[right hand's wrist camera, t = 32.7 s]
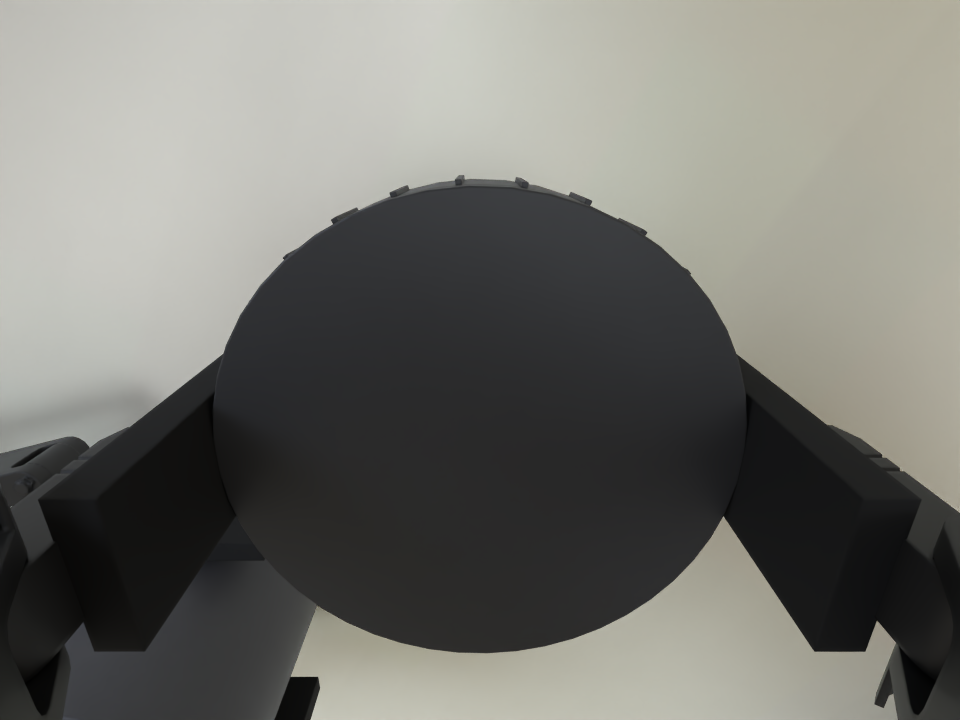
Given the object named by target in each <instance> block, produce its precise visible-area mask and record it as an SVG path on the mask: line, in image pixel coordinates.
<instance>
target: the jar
mask: <svg viewBox="0 0 960 720" xmlns="http://www.w3.org/2000/svg"><path fill="white" fill-rule="evenodd" d="M316 606H317V604H315V603H314V602H312V601H311V600H310V599H308V598H307V597H306V596H304V595H303V594H301V593H300V592H299V591H297V590H296V589H295V588H294V587H293V586H292V585H291V584H290V583H289V582H287V581H286V580H285V579H284V578H283V577H282V576H281V575H280V574H279V573H278V572H276V570H275V569H274V568H273V567H272V566H271V565H270V563H269V562H268V561H267V560H266V559H265V560H264V561H206V562H205V563H204V565H203V566H202V568H201V569H200V571H199V572H198V574H197V575H196V577H195V578H194V580H193V581H192V582H191V584H190V585H189V587H188V588H187V590H186V591H185V593H184V594H183V596H182V597H181V599H180V600H179V602H178V603H177V605H176V606H175V608H174V609H173V611H172V612H171V614H170V615H169V617H168V618H167V620H166V621H165V623H164V624H163V626H162V627H161V629H160V630H159V632H158V633H157V635H156V636H155V638H154V639H153V641H152V642H151V644H150V645H149V647H148V648H147V650H146V651H145V652H94V649H93V647H92V644H91V641H90V639H89V636H88V633H87V631H86V628H85V625H84V623H82V624H81V626H80V627H79V628H78V629H77V630H76V632H75V633H74V634H73V635H72V636H71V637H70V639H69V640H68V641H67V642H66V643H65V647H66V650H67V652H68V655H69V658H70V665H71V671H70V677H69V683H68V689H67V695H66V701H65V707H64V713H63V719H62V720H275V717H276V714H277V711H278V709H279V706H280V703H281V701H282V698H283V695H284V693H285V690H286V687H287V684H288V682H289V679H290V676H291V674H292V671H293V668H294V666H295V663H296V660H297V658H298V655H299V652H300V649H301V647H302V644H303V641H304V639H305V636H306V633H307V631H308V628H309V625H310V622H311V620H312V617H313V614H314V612H315V609H316Z"/></svg>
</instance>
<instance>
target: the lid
mask: <svg viewBox="0 0 960 720" xmlns="http://www.w3.org/2000/svg"><path fill="white" fill-rule="evenodd" d="M390 196H391V197H388V198H386V199H383V200H381V201H378V202H376V203H373V204H371V205H369V206H367V207H365V208H363V209H361V210H358V209H357V208H355V209H352V210H350V211H348V212H346V213H343V214H341V215H339V216H337V217H335V218H333V219H331V221H332V223H333V225H331V226H330V227H328V228H326V229H324V230H323V231H321V232H319V233H318V234H316V235H314V236H313V237H312V238H311V239H309V240H308V241H307V242H306V243H304V244H303V245H302V246H301V247H299V248H298V249H296V250H294V251H292V252H290V253H288V254H286V255H285V256H284V257H283V259H284V261H283V262H282V263H281V264H280V265H279V266H278V267H277V268H276V269H275V270H274V271H273V272H272V274H271V275H270V276H269V277H268V278H267V279H266V280H265V281H264V282H263V283H262V284H261V285H260V287H259V288H258V290H257V291H256V293H255V294H254V296H253V297H252V299H251V300H250V301H249V303H248V304H247V306H246V307H245V309H244V310H243V312H242V313H241V315H240V317H239V319H238V321H237V323H236V325H235V327H234V330H233V332H232V334H231V336H230V338H229V340H228V342H227V344H226V347H225V351H224V354H223V357H222V361H221V364H220V368H219V371H218V375H217V379H216V387H215V395H214V402H213V441H214V447H215V452H216V457H217V462H218V466H219V471H220V475H221V479H222V482H223V485H224V488H225V491H226V494H227V497H228V500H229V502H230V504H231V506H232V508H233V510H234V512H235V514H236V516H237V518H238V520H239V522H240V524H241V526H242V527H243V529H244V530H245V532H246V533H247V535H248V536H249V538H250V539H251V541H252V542H253V544H254V545H255V547H256V548H257V550H258V551H259V552H260V553H261V554H262V555H263V557H264V558H265V559H266V560H267V561H268V562H269V563H270V565H271V566H272V567H273V568H274V569H275V570H276V572H278V573H279V574H280V575H281V576H282V577H283V578H284V579H285V580H286V581H287V582H289V583H290V584H291V585H292V586H293V587H294V588H295V589H296V590H297V591H299V592H300V593H301V594H303V595H304V596H306V597H307V598H308V599H310V600H311V601H312V602H314V603H315V604H317V605H318V606H319V607H321V608H322V609H324V610H326V611H328V612H329V613H331V614H333V615H335V616H336V617H338V618H340V619H342V620H344V621H345V622H347V623H349V624H352V625H354V626H356V627H359V628H361V629H363V630H365V631H368V632H370V633H372V634H375V635H378V636H381V637H384V638H387V639H390V640H394V641H397V642H400V643H404V644H408V645H413V646H418V647H422V648H427V649H433V650H442V651H450V652H459V653H496V652H510V651H520V650H525V649H531V648H537V647H543V646H547V645H551V644H555V643H559V642H562V641H566V640H570V639H573V638H576V637H578V636H581V635H584V634H586V633H589V632H592V631H594V630H597V629H599V628H602V627H604V626H606V625H608V624H610V623H612V622H614V621H616V620H618V619H620V618H622V617H624V616H625V615H627V614H629V613H630V612H632V611H633V610H635V609H636V608H638V607H640V606H641V605H643V604H644V603H646V602H647V601H649V600H650V599H652V598H653V597H654V596H655V595H657V594H658V593H659V592H660V591H662V590H663V589H664V588H665V587H666V586H668V585H669V584H670V583H671V582H673V581H674V580H675V579H676V578H677V577H678V576H679V575H680V574H681V572H682V571H683V570H684V569H685V568H686V567H687V566H688V565H689V564H690V563H691V562H692V561H693V560H694V559H695V558H696V556H697V555H698V554H699V552H700V551H701V550H702V548H703V547H704V546H705V544H706V543H707V542H708V540H709V539H710V538H711V536H712V535H713V533H714V531H715V529H716V528H717V526H718V524H719V522H720V521H721V519H722V517H723V515H724V514H725V512H726V510H727V507H728V505H729V502H730V500H731V497H732V495H733V493H734V490H735V488H736V485H737V482H738V477H739V473H740V468H741V464H742V459H743V455H744V449H745V442H746V432H747V410H746V392H745V387H744V383H743V378H742V373H741V368H740V364H739V360H738V357H737V355H736V352H735V349H734V347H733V344H732V341H731V339H730V336H729V334H728V331H727V329H726V327H725V325H724V324H723V322H722V320H721V318H720V317H719V315H718V313H717V311H716V310H715V308H714V306H713V304H712V303H711V301H710V299H709V298H708V297H707V295H706V294H705V293H704V292H703V290H702V289H701V288H700V287H699V285H698V284H697V283H696V282H695V280H694V279H693V278H692V277H691V275H690V274H691V273H690V272H689V271H688V270H687V269H685V268H684V267H682V266H681V265H680V264H679V263H678V262H677V261H675V260H674V259H673V258H672V257H671V256H670V255H669V254H668V253H667V252H666V251H665V250H664V249H662V248H661V247H660V246H659V245H658V244H656V243H655V242H653V241H652V240H650V239H649V238H647V237H646V236H645V235H646V234H647V232H646V231H645V230H644V229H642V228H640V227H637V226H635V225H633V224H631V223H629V222H627V221H625V220H622V219H620V218H619V219H616V218H614V217H612V216H610V215H608V214H606V213H604V212H602V211H600V210H598V209H595V208H593V207H591V206H590V205H591V203H592V201H591V200H589V199H587V198H584V197H582V196H580V195H577V194H575V193H573V192H570V195H569V196H568V195H565V194H561V193H558V192H555V191H552V190H549V189H546V188H543V187H540V186H535V185H529V183H528V182H527V181H525V180H523V179H522V178H518V177H516V180H515V182H512V181H506V180H483V179H467V180H465V179H464V175H459V176H458V177H457V178H456V179H455V181H448V182H439V183H434V184H430V185H426V186H422V187H418V188H414V189H410V190H409V187H408V185H407V186H404V187H401V188H399V189H397V190H395V191H392V192H390Z"/></svg>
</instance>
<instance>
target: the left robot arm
mask: <svg viewBox="0 0 960 720" xmlns="http://www.w3.org/2000/svg"><path fill="white" fill-rule="evenodd" d="M88 449H89V446H88V445H87V444H86V443H85V442H84V441H83V440H81V439H79V438H76V437H65V438H61V439H57V440H53V441H49V442H45V443H41V444H37V445H33V446H29V447H25V448H21V449H17V450H13V451H9V452H5V453H1V454H0V484H1V487H2V489H3V492H4V494H5V497H6V499H7V502H8V504H9V507H10V506H14V505H15V504H16V503H18V502H19V501H20V500H22V499H23V498H24V497H26V496H27V495H28V494H30V493H31V492H32V491H34V490H35V489H36V488H38V487H39V486H40V485H42V484H43V483H44V482H46V481H47V480H48V479H50V478H51V477H52V476H53V475H55V474H60V472H61V469H63V468H64V467H65V466H67V465H68V464H69V463H71V462H72V461H73V460H78V457H79V456H80V455H81V454H83V453H84V452H85V451H87V450H88ZM264 560H265V558H264V557H263V555H262V554H261V553H260V552H259V551H258V550H257V548H256V547H255V545H254V544H253V542H252V541H251V539H250V538H249V536H248V535H247V533H246V532H245V530H244V529H243V527H242V526H241V524H240V522H239V520H238V518H237V516H236V517H235V518H234V520H233V521H232V523H231V524H230V526H229V527H228V529H227V530H226V532H225V533H224V535H223V536H222V538H221V539H220V541H219V542H218V544H217V545H216V547H215V548H214V550H213V551H212V553H211V554H210V556H209V557H208V559H207V560H206V561H264ZM319 690H320V685H319V679H318V677H290V679H289V682H288V684H287V687H286V690H285V693H284V695H283V698H282V701H281V703H280V706H279V709H278V711H277V714H276V717H275V720H310V719H311V716H312V713H313V710H314V706H315V703H316V700H317V696H318V693H319Z"/></svg>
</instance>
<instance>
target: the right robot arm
mask: <svg viewBox="0 0 960 720" xmlns="http://www.w3.org/2000/svg"><path fill="white" fill-rule="evenodd" d="M736 355H737V354H736ZM222 357H223V355H221V356H220V357H219V358H218V359H216V360H215V361H214V362H212V363H211V364H210V365H209V366H207V367H206V368H205V369H203V370H202V371H201V372H200V373H198V374H197V375H196V376H195V377H193V378H192V379H191V380H189V381H188V382H187V383H186V384H184V385H183V386H182V387H181V388H179V389H178V390H177V391H175V392H174V393H173V394H172V395H170V396H169V397H168V398H167V399H165V400H164V401H163V402H161V403H160V404H159V405H158V406H156V407H155V408H154V409H152V410H151V411H150V412H149V413H147V414H146V415H145V416H144V417H142V418H141V419H140V420H138V421H137V422H136V423H135V424H133V425H132V426H131V427H127V428H125V429H123V430H121V431H119V432H117V433H115V434H113V435H111V436H108V437H106V438H104V439H102V440H100V441H98V442H97V443H96V444H94V445H93V446H92V447H90V448H89V449H88V450H87V451H85V452H84V453H83V454H81V455H80V456H79V457H78V460H73V461H72V462H71V463H69V464H68V465H67V466H65V467H64V468H63V469H61V472H60V474H55V475H53V476H52V477H51V478H50V479H48V480H47V481H46V482H44V483H43V484H42V485H40V486H39V487H38V488H36V489H35V490H34V491H32V492H31V493H30V494H28V495H27V496H26V497H24V498H23V499H22V500H20V501H19V502H18V503H16V504H15V505H14V506H13V507H11V508H10V507H9V504H8V502H7V499H6V497H5V494H4V492H3V489H2V487H1V484H0V720H62V719H63V713H64V707H65V701H66V695H67V689H68V683H69V677H70V671H71V665H70V658H69V655H68V652H67V650H66V647H65V643H66V642H67V641H68V640H69V639H70V637H71V636H72V635H73V634H74V633H75V632H76V630H77V629H78V628H79V627H80V626H81V624H82V623H84V625H85V628H86V631H87V633H88V636H89V639H90V641H91V644H92V647H93V649H94V652H145V651H146V650H147V648H148V647H149V645H150V644H151V642H152V641H153V639H154V638H155V636H156V635H157V633H158V632H159V630H160V629H161V627H162V626H163V624H164V623H165V621H166V620H167V618H168V617H169V615H170V614H171V612H172V611H173V609H174V608H175V606H176V605H177V603H178V602H179V600H180V599H181V597H182V596H183V594H184V593H185V591H186V590H187V588H188V587H189V585H190V584H191V582H192V581H193V580H194V578H195V577H196V575H197V574H198V572H199V571H200V569H201V568H202V566H203V565H204V563H205V562H206V560H207V559H208V557H209V556H210V554H211V553H212V551H213V550H214V548H215V547H216V545H217V544H218V542H219V541H220V539H221V538H222V536H223V535H224V533H225V532H226V530H227V529H228V527H229V526H230V524H231V523H232V521H233V520H234V518H235V517H236V514H235V512H234V510H233V508H232V506H231V504H230V502H229V500H228V497H227V494H226V491H225V488H224V485H223V482H222V479H221V475H220V471H219V466H218V462H217V457H216V452H215V447H214V441H213V402H214V395H215V387H216V379H217V375H218V371H219V368H220V364H221V361H222ZM737 357H738V360H739V364H740V368H741V373H742V378H743V383H744V387H745V392H746V410H747V432H746V442H745V449H744V455H743V459H742V464H741V468H740V473H739V477H738V482H737V485H736V488H735V490H734V493H733V495H732V497H731V500H730V502H729V505H728V507H727V510H726V512H725V514H724V515H723V516H724V517H725V519H726V520H727V522H728V523H729V525H730V526H731V528H732V529H733V531H734V532H735V534H736V535H737V537H738V538H739V540H740V541H741V543H742V544H743V546H744V547H745V549H746V550H747V552H748V553H749V555H750V556H751V558H752V559H753V561H754V562H755V564H756V565H757V567H758V568H759V570H760V571H761V573H762V574H763V576H764V577H765V579H766V580H767V582H768V583H769V585H770V586H771V588H772V589H773V590H774V592H775V593H776V595H777V596H778V598H779V599H780V601H781V602H782V604H783V605H784V607H785V608H786V610H787V611H788V613H789V614H790V616H791V617H792V619H793V620H794V622H795V623H796V625H797V626H798V628H799V629H800V631H801V632H802V634H803V635H804V637H805V638H806V640H807V641H808V643H809V644H810V646H811V647H812V649H813V650H814V652H865V651H866V648H867V646H868V643H869V640H870V637H871V635H872V632H873V629H874V627H875V624H876V621H878V622H879V623H880V624H881V625H882V627H883V628H884V629H885V630H886V631H887V632H888V634H889V635H890V636H891V637H892V638H893V639H894V641H895V642H896V645H895V647H894V650H893V652H892V655H891V657H890V660H889V662H888V665H887V667H886V670H885V672H884V675H883V677H882V680H881V682H880V685H879V687H878V690H877V692H876V698H875V705H878V706H880V707H883V708H884V706H885V703H886V701H887V699H888V696H889V695H891V694H893V693H894V699H895V705H896V711H897V717H898V720H960V513H959V512H958V511H956V510H955V509H954V508H952V507H951V506H950V505H948V504H947V503H946V502H944V501H943V500H942V499H940V498H939V497H938V496H936V495H935V494H934V493H932V492H931V491H930V490H928V489H927V488H926V487H924V486H923V485H922V484H920V483H919V482H918V481H916V480H915V479H914V478H912V477H911V476H910V475H908V474H907V473H906V472H904V471H900V468H899V467H898V466H896V465H895V464H894V463H892V462H891V461H890V460H888V459H887V458H882V454H880V453H879V452H878V451H876V450H875V449H874V448H872V447H871V446H870V445H868V444H867V443H866V442H864V441H863V440H862V439H860V438H858V437H856V436H854V435H852V434H850V433H847V432H845V431H843V430H841V429H839V428H837V427H835V426H833V425H826V424H825V423H824V422H822V421H821V420H820V419H819V418H817V417H816V416H815V415H814V414H812V413H811V412H810V411H808V410H807V409H806V408H805V407H803V406H802V405H801V404H799V403H798V402H797V401H796V400H794V399H793V398H792V397H791V396H789V395H788V394H787V393H785V392H784V391H783V390H782V389H780V388H779V387H778V386H777V385H775V384H774V383H773V382H771V381H770V380H769V379H768V378H766V377H765V376H764V375H763V374H761V373H760V372H759V371H757V370H756V369H755V368H754V367H752V366H751V365H750V364H748V363H747V362H746V361H745V360H743V359H742V358H741V357H740V356H738V355H737Z"/></svg>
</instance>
